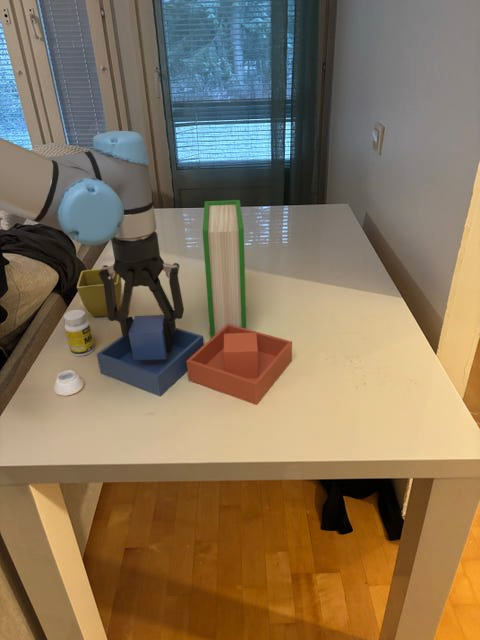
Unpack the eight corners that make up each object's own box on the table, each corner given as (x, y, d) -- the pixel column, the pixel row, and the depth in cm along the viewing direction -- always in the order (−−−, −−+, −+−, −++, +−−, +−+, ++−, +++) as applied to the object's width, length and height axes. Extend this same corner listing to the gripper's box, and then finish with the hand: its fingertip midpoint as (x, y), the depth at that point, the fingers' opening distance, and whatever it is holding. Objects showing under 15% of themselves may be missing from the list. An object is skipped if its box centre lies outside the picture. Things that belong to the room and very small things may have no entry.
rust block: (225, 379, 84) (223, 352, 81) (225, 359, 90) (223, 333, 87) (258, 377, 84) (257, 350, 81) (256, 358, 90) (256, 332, 87)
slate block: (133, 360, 86) (128, 332, 83) (139, 342, 91) (134, 315, 88) (165, 359, 86) (162, 331, 83) (170, 341, 91) (166, 314, 88)
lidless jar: (84, 393, 83) (83, 377, 87) (81, 380, 81) (80, 364, 85) (55, 400, 82) (55, 383, 86) (51, 386, 80) (51, 370, 84)
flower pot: (84, 323, 104) (75, 287, 99) (89, 304, 111) (81, 270, 107) (124, 319, 105) (117, 283, 100) (126, 300, 112) (120, 266, 108)
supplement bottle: (91, 356, 93) (82, 320, 88) (67, 357, 93) (57, 321, 88) (97, 343, 97) (89, 308, 92) (75, 343, 97) (66, 308, 93)
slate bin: (100, 373, 88) (96, 354, 86) (148, 336, 98) (146, 318, 96) (160, 396, 82) (157, 376, 79) (204, 354, 92) (203, 335, 90)
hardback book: (246, 339, 96) (243, 228, 84) (210, 341, 96) (202, 230, 84) (242, 299, 111) (239, 199, 99) (211, 300, 111) (204, 201, 99)
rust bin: (188, 380, 85) (186, 360, 83) (228, 342, 96) (227, 323, 93) (256, 405, 79) (256, 384, 77) (291, 361, 89) (292, 341, 87)
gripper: (193, 223, 79) (203, 336, 91) (82, 227, 80) (107, 339, 92) (189, 239, 73) (200, 359, 85) (69, 243, 73) (97, 362, 85)
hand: (152, 349), depth 88 cm, fingers closed on slate block, 6 cm apart
